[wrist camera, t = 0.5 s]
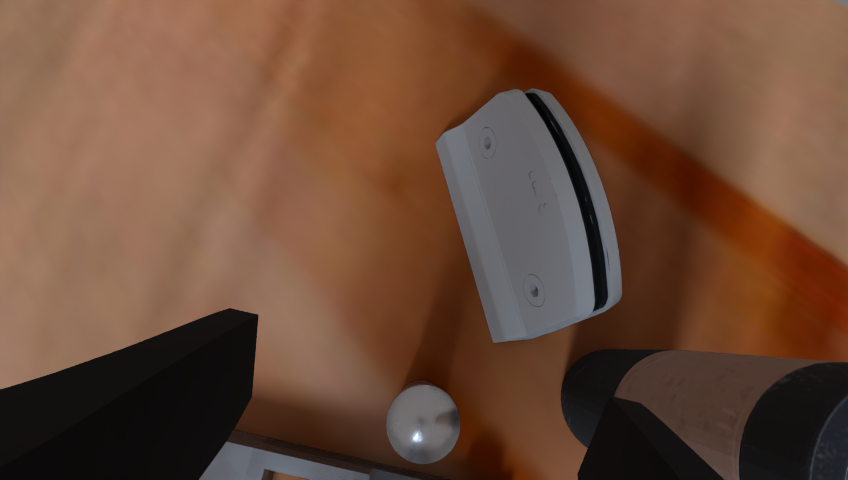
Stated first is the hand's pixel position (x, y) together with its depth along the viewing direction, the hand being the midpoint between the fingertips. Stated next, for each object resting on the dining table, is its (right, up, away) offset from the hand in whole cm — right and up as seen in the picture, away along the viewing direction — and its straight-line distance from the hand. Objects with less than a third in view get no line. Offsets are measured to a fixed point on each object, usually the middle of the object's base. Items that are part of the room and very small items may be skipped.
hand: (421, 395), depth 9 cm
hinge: (+7, +4, +25) cm, 26 cm away
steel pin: (0, -8, +22) cm, 23 cm away
